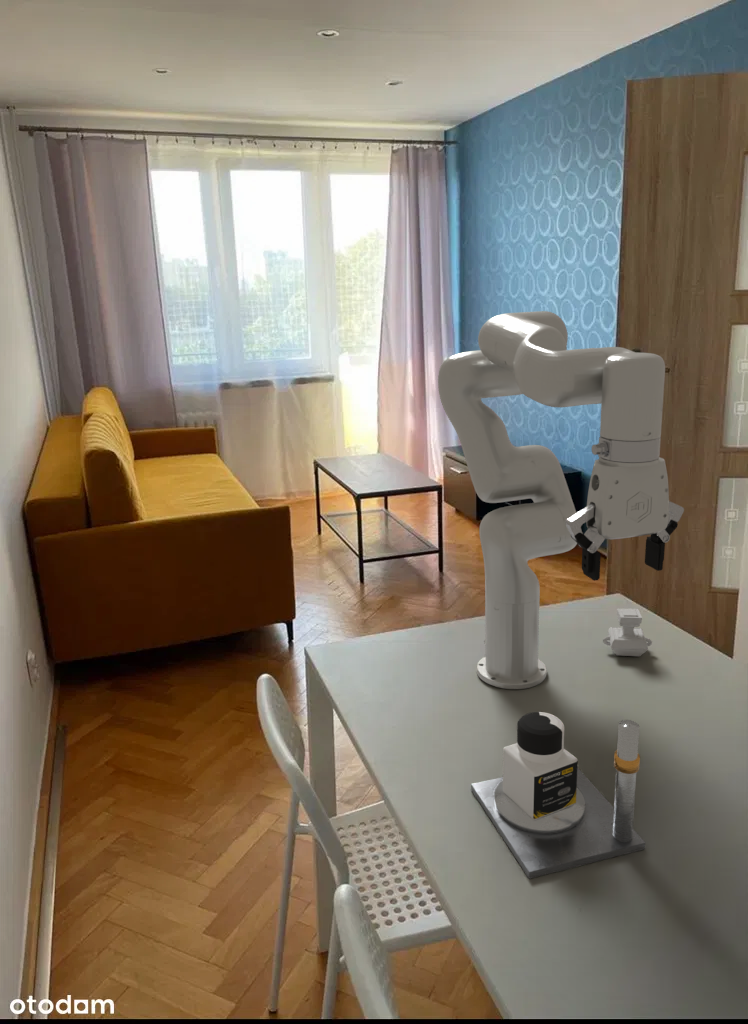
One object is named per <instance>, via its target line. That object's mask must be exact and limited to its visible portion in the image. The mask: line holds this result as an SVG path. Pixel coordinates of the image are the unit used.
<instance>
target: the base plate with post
mask: <svg viewBox="0 0 748 1024" xmlns="http://www.w3.org/2000/svg"><path fill="white" fill-rule="evenodd" d="M639 737H640V724H639V723H638V722H636V721H634V720H631V719H622V720H620V721H619V722H618V730H617V745H616V746H617V749H616V750H614V756H613V767H614V768H615V783H614V784H615V785H614V798H613V799H614V802H613V805H612V804H611V803H610V802H609V800H608V799H606V797H605V796H604V795H603V794H602V793H601V792H600V790H599V789H598V788H597V787H596V786H595V785H594V784H593V783H592V782H591V781H590V780H589V779H588V777H587V776H586V775H585V774H584V773H583V772H582V771H581V769H580V768H579V767H578V766H577V790H576V804H574V805H572V806H569V807H567V808H564V809H562V810H559V811H557V812H554V813H552V814H549V815H547V816H544V817H542V818H539V819H537V820H533V819H532V818H531V817H530V816H528V815H527V814H526V813H525V812H524V811H523V810H522V809H521V808H520V807H519V806H518V805H517V804H516V803H515V802H514V801H513V800H512V799H510V798H509V797H508V796H507V795H506V794H505V793H504V792H503V776H502V777H500V776H499V777H497V778H491V779H488V780H487V779H486V780H483V781H478V782H474V783H470V787H471V789H470V791H471V792H472V793H473V794H474V797H475V798H476V799H477V801H478V802H479V804H480V806H481V807H482V809H483V810H484V811H485V813H486V815H487V816H488V818H489V819H490V821H491V822H492V824H493V826H494V828H495V829H496V830H497V832H498V833H499V835H500V836H501V838H502V839H503V842H504V843H505V844H506V846H507V847H508V848H509V850H510V852H511V853H512V855H513V857H514V858H515V859H516V861H517V862H518V864H519V866H520V867H521V868H522V870H523V872H524V873H525V875H526V876H527V878H528V879H533V878H537V877H541V876H545V875H549V874H552V873H556V872H560V871H565V870H568V869H573V868H576V867H579V866H584V865H588V864H592V863H595V862H600V861H603V860H608V859H612V858H615V857H619V856H623V855H627V854H631V853H635V852H639V851H642V850H643V851H644V850H646V841H645V840H644V839H643V838H642V836H640V835H639V834H638V833H637V832H636V830H635V829H634V815H635V814H634V813H635V798H636V783H637V773H638V772H639V771H640V763H641V756H640V755H641V754H639V739H640V738H639Z"/></svg>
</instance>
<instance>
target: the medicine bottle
mask: <svg viewBox="0 0 748 1024" xmlns="http://www.w3.org/2000/svg"><path fill="white" fill-rule="evenodd" d="M516 724H517V725H516V731H517V732H516V743H513V744H510V745H506V746H504V747H503V750H502V777H503V792H504V793H505V794H506V795H507V796H508V797H509V798H510V799H512V800H513V801H514V802H515V803H516V804H517V805H518V806H519V807H520V808H521V809H522V810H523V811H524V812H525V813H526V814H527V815H528V816H530V817H531V818H532V819H533V820H537V819H539V818H542V817H544V816H547V815H549V814H552V813H554V812H557V811H559V810H562V809H564V808H567V807H569V806H572V805H574V804H576V790H577V767H578V765H579V764H578V763H579V762H578V760H579V759H578V758H577V757H576V756H574V755H573V754H572V753H571V752H570V751H568V750H567V749H565V747H564V745H565V743H564V742H565V725H564V723H563V721H562V720H561V719H560V718H559V717H557V716H556V715H553V714H552V713H549V712H544V711H543V712H541V711H534V712H529V713H525V714H523V715H522V716H521V717H519V719H518V720H517V723H516Z"/></svg>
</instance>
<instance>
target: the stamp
mask: <svg viewBox="0 0 748 1024" xmlns="http://www.w3.org/2000/svg"><path fill="white" fill-rule="evenodd" d="M616 616H617V620H618V624H619V626H620V627H619V626H610V627H609V628H608V630H607V636H605V637H604V638H603V639H602V643H603V644H604V645H607V646H610V648H611V650H612V652H613V653H614V654H615V655H616V656H623V657H625V656H626V657H627V656H628V657H641V656H642V655H643V654H644V653H646V652H647V651H648V650H649V647H650V646H651V645H652V644H653V641H652V639H651V638H648V637H646V636H645V634H644V631H643V628H642V627H640V626H641V624H642V620H643V616H642V614H641V612H640V610H639V608H616Z"/></svg>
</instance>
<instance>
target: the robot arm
mask: <svg viewBox="0 0 748 1024" xmlns="http://www.w3.org/2000/svg"><path fill="white" fill-rule="evenodd" d="M568 334H569V333H568V330H567V327H566V324H565V322H564V321H563V319H562V318H561V317H560V316H559V315H558V314H556V313H554V312H551V311H547V310H543V311H542V310H541V311H540V310H539V311H538V310H537V311H524V312H523V311H522V312H506V313H501V314H498V315H495V316H493V317H491V318H489V319H487V320H486V321H485V323H484V324H482V326H481V328H480V330H479V333H478V337H477V342H478V347H479V349H477V350H470V351H464V352H459V353H455V354H453V355H450V356H449V357H447V358H446V359H445V360H444V361H443V362H442V363H441V365H440V368H439V370H438V375H437V377H438V378H437V386H438V388H437V389H438V395H439V399H440V401H441V405H442V407H443V410H444V412H445V414H446V417H447V418H448V420H449V422H450V424H451V425H452V427H453V428H454V430H455V433H456V434H457V437H458V439H459V442H460V445H461V449H462V453H463V456H464V458H465V462H466V466H467V470H468V473H469V476H470V480H471V483H472V485H473V488H474V492H475V493H476V494H477V497H478V498H479V499H480V500H481V501H482V502H485V503H489V504H497V503H504V502H505V503H506V502H513V501H514V502H515V501H520V500H528V499H531V500H532V501H533V502H532V503H531V502H530V503H520V504H514V505H508V506H504V507H499V508H496V509H493V510H492V511H490V512H487V514H485V515H484V516H483V517H482V519H481V521H480V524H479V541H480V545H481V546H480V547H481V553H482V557H483V565H484V580H485V581H484V599H485V601H484V602H485V603H484V607H485V609H484V617H485V619H484V622H485V624H484V627H485V628H484V633H485V634H484V640H483V644H484V646H485V647H484V648H485V649H484V655H485V656H483V657H482V658H481V659H480V660H478V661H477V664H476V673H477V677H479V678H480V680H482V681H483V682H485V683H486V684H487V685H490V686H493V687H496V688H500V689H506V690H523V689H529V688H534V687H535V686H538V685H540V684H541V683H542V682H543V681H544V680H545V679H546V678H547V673H548V670H547V665H546V664H545V663H544V662H543V661H542V660H541V659H539V645H540V643H539V642H540V641H539V639H540V638H539V636H540V634H539V633H540V631H539V630H540V597H541V596H540V594H541V593H540V589H541V588H540V581H539V579H538V575H536V573H535V572H534V571H533V570H532V569H531V567H530V566H529V563H528V561H529V560H534V559H537V558H540V557H546V556H554V555H559V554H563V553H566V552H569V551H571V550H572V549H574V548H575V547H576V546H577V545H578V546H579V547H580V548H582V552H581V571H582V573H583V575H585V576H586V577H588V578H589V579H590V580H592V581H594V582H595V581H599V580H600V578H601V576H600V575H601V558H602V555H601V552H599V551H598V549H599V548H600V547H601V545H602V543H604V541H605V540H620V539H627V538H629V539H630V538H635V537H642V536H643V537H644V536H646V539H645V549H644V550H645V552H644V564H645V565H647V566H648V567H650V568H652V569H654V570H655V571H657V572H658V571H663V568H664V566H663V565H664V560H665V549H666V543H668V542H669V541H670V539H671V535H672V533H673V532H674V531H675V530H676V529H677V528H678V522H680V520H681V518H682V515H683V514H684V512H685V508H684V507H683V506H681V505H679V504H678V503H674V502H673V501H671V500H670V496H669V495H670V492H669V491H670V490H669V488H670V487H669V477H668V471H667V466H666V460H665V459H664V458H663V457H660V455H661V454H660V451H661V439H662V437H661V435H662V425H663V424H662V423H663V422H662V421H663V409H664V407H663V406H664V391H665V379H666V377H665V376H666V363H665V361H664V359H663V357H662V356H661V355H658V354H656V353H651V352H635V351H633V350H631V349H627V348H625V347H622V346H621V347H620V346H610V347H609V346H604V347H589V348H578V349H575V348H574V349H567V345H568V338H569V337H568ZM520 395H523V396H525V397H526V398H528V399H530V400H533V401H535V402H537V403H539V404H541V405H543V406H547V407H551V408H570V407H576V406H577V407H578V406H586V405H587V406H588V405H599V404H600V423H599V425H600V427H599V429H600V430H599V434H600V435H599V438H598V443H596V444H592V446H591V453H592V454H593V455H594V456H595V455H598V459H595V460H594V464H593V467H592V471H591V475H590V479H589V486H588V492H587V501H586V506H585V507H584V508H582V509H580V510H579V511H577V510H576V507H575V504H574V502H573V499H572V495H571V492H570V489H569V486H568V483H567V480H566V478H565V477H566V476H565V474H564V472H563V469H562V466H561V463H560V461H559V459H558V457H557V456H556V454H555V453H554V452H553V451H552V450H551V449H550V448H548V447H546V446H543V445H538V444H529V445H521V446H515V445H513V443H512V442H511V440H510V437H509V434H508V431H507V427H506V424H505V423H504V421H503V420H502V419H501V417H500V416H499V415H498V414H497V413H496V412H495V411H494V410H493V409H492V408H490V407H489V406H488V405H486V404H485V403H484V402H483V401H482V399H489V398H501V397H509V396H511V397H512V396H520ZM585 523H586V527H587V530H586V531H585V532H583V531H582V526H583V524H585ZM648 535H649V536H648Z"/></svg>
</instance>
